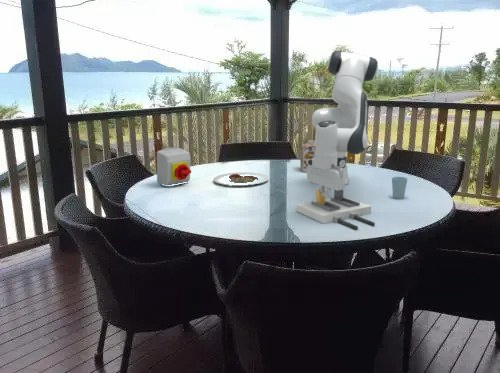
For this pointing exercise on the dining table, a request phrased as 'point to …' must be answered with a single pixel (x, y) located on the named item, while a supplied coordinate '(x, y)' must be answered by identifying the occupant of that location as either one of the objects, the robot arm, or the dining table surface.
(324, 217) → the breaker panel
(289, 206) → the dining table surface
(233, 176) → the plated food
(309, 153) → the decorative jar
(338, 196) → the charcoal toggle
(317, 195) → the amber toggle
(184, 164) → the electrical switch box
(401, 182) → the cup
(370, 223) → the power cords
